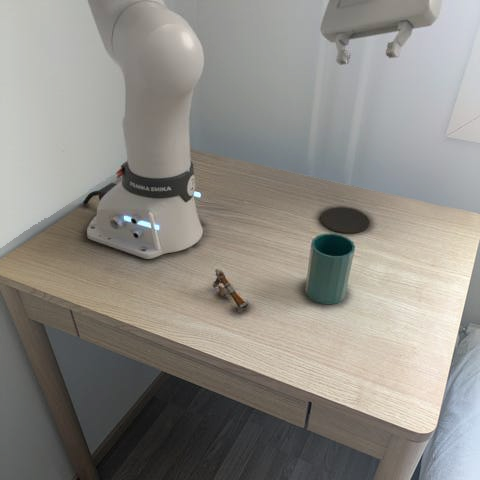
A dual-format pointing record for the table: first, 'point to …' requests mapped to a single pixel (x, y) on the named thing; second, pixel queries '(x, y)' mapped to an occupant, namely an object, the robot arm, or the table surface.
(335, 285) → the cup
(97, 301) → the table surface
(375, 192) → the table surface
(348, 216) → the coaster
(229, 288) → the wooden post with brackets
